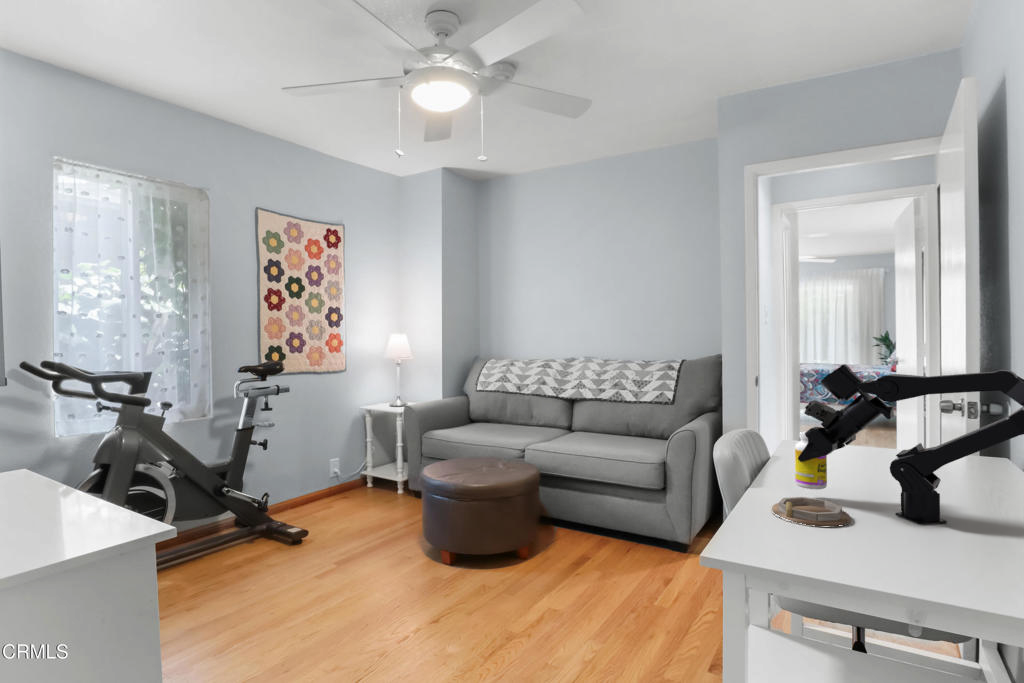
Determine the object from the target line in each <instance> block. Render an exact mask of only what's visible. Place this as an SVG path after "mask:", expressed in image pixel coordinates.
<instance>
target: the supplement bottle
mask: <svg viewBox="0 0 1024 683" xmlns="http://www.w3.org/2000/svg"><path fill="white" fill-rule="evenodd" d="M807 431H808V430H805V431H800V432H799V439H800V441H799V442H797V443H796V444H795V446H794V452H795V453H794V454H795V455H794V457H795V458H794V459H795V461H794V462H795V468H794V469H795V472H794V474H795V479H794V480H795V484H796V486H798V487H800V488H802V489H808V490H824V489H826V488H827V486H828V484H827V483H828V473H827V472H828V468H827V465H828V462H827V461H828V459H827V457H828V455H825V456H821V457H818V458H814V459H810V460H807V461H803V462H800V461H799V460H798V457H799V456H800V454H801V453H802V451H803V450H804V448H805V447H806V445H807V444H808V438H807V437H806V436H805V433H806V432H807Z"/></svg>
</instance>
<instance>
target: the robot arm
mask: <svg viewBox="0 0 1024 683" xmlns="http://www.w3.org/2000/svg"><path fill="white" fill-rule="evenodd" d="M819 383H820V385H822V386H823V387H824V388H825V389H826V390H827V391H828V392H829V393H830V394H831V395H832V396H833V397H834V398H835V399H837V401H839V402H840V401H843V400H844V401H845V402H848V401H850V400H852V399H853V398H855V397H856V396H857V395H858V394H859V395H858V396H857V397H856V398H855V399H854V400H852V401H851V402H850V403H848V405H846V406H845V407H844V408H841V409H840V410H839V409H838V410H837V409H834V408H833V407H831V406H830V405H827V404H825V403H823V402H820V401H819V400H815V399H814V400H810V401H809V402H808V404H807V405H805V407H804V408H805V410H804V412H803V414H804V415H806V416H808V417H812V418H813V419H816V420H817V421H820V422H821V423H820V425H821V426H814V427H811V428H809V429H808V430H806V431H807V432H806V433H805V436H806V437H807V438H808V444H807V445H806V447H805V448H804V450H803V451H802V453H801V454H800V456H799V457H798V460H799V461H800V462H803V461H807V460H810V459H814V458H818V457H821V456H825V455H827V456H829V455H830V454H832V453H833V452H835V451H836V450H840V449H842V448H845V447H846V446H848V445H850V444H852V443H853V442H855V441H856V440H857V439H856V438H857V434H858V433H860V432H862V431H864V430H865V429H866V427H868V425H870V424H871V423H873V421H875V420H877V419H878V418H879V417H880V416H884V418H886V419H887V420H891V419H893V418H894V417H895V412H894V410H895V406H894V405H888V404H886V403H885V402H887V403H895V402H899V401H905V400H908V399H913V398H918V397H923V396H927V395H937V394H938V395H942V394H943V395H944V394H957V393H958V394H960V393H975V392H976V393H977V392H979V393H981V392H995V391H997V392H1001V393H1003V394H1004V395H1006V396H1008V397H1009V398H1010V399H1011V400H1013V401H1014V402H1016V403H1017V404H1019V405H1020V406H1022V407H1020V408H1018V409H1017V410H1015V411H1014V412H1013V413H1011V414H1010V415H1008V416H1006V417H1004V418H1001V419H998V420H997V421H995V422H992V423H990V424H987V425H984V426H981V427H979V428H977V429H975V430H972V431H969V432H967V433H965V434H963V435H960V436H958V437H955V438H953V439H951V440H948V441H946V442H944V443H941V444H939V445H936V446H931V447H927V448H924V446H923V443H921V442H919V443H918V444H916V445H915V446H913V447H912V448H910V449H909V448H908V449H902V450H901V451H899V452H898V453H897V454H895V457H896V458H894V460H892V462H891V463H890V465H889V472H890V474H891V477H892V478H893V479H895V481H897V482H898V484H899V486H900V488H901V492H900V511H898V512H895V513H894V514H895V516H898V517H900V518H902V519H905V520H908V521H910V522H912V523H915V524H917V525H934V524H935V525H936V524H947V523H948V521H947V519H944V518H941V496H940V495H941V494H940V493H939V492H938V491H937V490H936V489H937V488H938V487H939V485H940V483H941V478H940V477H938V475H936V474H935V473H934V472H936V471H938V470H939V469H940V468H942V467H943V466H945V465H947V464H949V463H953V462H955V461H958V460H960V459H963V458H966V457H968V456H970V455H974V454H975V453H978V452H980V451H983V450H986V449H988V448H991V447H994V446H997V445H999V444H1001V443H1004V442H1006V441H1009V440H1011V439H1014V438H1016V437H1018V436H1022V435H1024V378H1022V377H1020V376H1018V375H1017V373H1016V372H1014V371H1012V370H1009V369H1000V370H997V371H987V372H986V371H985V372H973V373H960V374H959V373H957V374H946V375H945V374H944V375H932V376H929V375H928V376H926V375H925V376H924V375H915V374H904V373H903V374H901V373H900V374H899V373H891V374H887V375H886V374H885V375H883V376H880V377H877V379H874V380H871V379H867V380H863V379H862V378H860V377H859V376H858V375H857V374H856V373H855V372H854V371H853V370H852V369H851V367H849V365H847V364H846V363H845V364H841V365H840V366H839V367H838V368H836V369H834V370H833V371H832V372H829V373H828V374H827V375H825V377H823V378H822V379H821V381H820V382H819ZM870 394H871V395H870ZM873 395H875V396H874V397H873Z"/></svg>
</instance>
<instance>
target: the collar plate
mask: <svg viewBox="0 0 1024 683" xmlns="http://www.w3.org/2000/svg"><path fill="white" fill-rule="evenodd" d="M772 511H773V512H774V513H775V514H777V515H779V516H780V517H783V518H785V519H788V520H791V521H793V522H797V523H802V524H806V525H815V526H839V525H845V524H847V523H849V522H851V516H850V514H849V513H848V512H847V511H844V510H843V507H842V506H840V505H838V504H837V503H834V502H831V501H829V500H825V499H820V498H813V497H805V496H795V497H793V496H792V497H790V496H789V497H783V498H781V500H780V501H779V502H777V503H774V504H773V505H772V506H771V512H772ZM849 524H850V523H849ZM806 525H805V526H806ZM847 525H848V524H847ZM845 526H846V525H845Z"/></svg>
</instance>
